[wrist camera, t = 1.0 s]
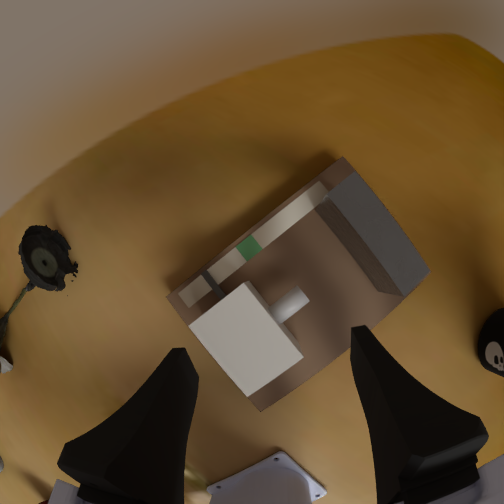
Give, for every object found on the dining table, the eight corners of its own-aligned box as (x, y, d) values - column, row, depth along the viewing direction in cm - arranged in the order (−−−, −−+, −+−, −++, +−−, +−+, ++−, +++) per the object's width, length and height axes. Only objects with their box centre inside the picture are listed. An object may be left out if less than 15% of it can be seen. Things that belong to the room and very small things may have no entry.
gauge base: (261, 404, 23) (260, 412, 21) (172, 295, 24) (165, 297, 23) (423, 271, 23) (431, 271, 21) (339, 162, 24) (343, 155, 22)
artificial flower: (103, 289, 26) (46, 335, 17) (19, 366, 30) (-20, 403, 20) (55, 216, 25) (-15, 235, 15) (-16, 315, 28) (-60, 344, 18)
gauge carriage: (251, 376, 22) (247, 397, 18) (182, 289, 22) (163, 293, 18) (325, 321, 22) (335, 332, 18) (253, 232, 22) (249, 223, 18)
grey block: (378, 291, 22) (404, 296, 17) (315, 210, 22) (326, 193, 17) (400, 271, 21) (430, 270, 16) (338, 191, 22) (355, 170, 17)
